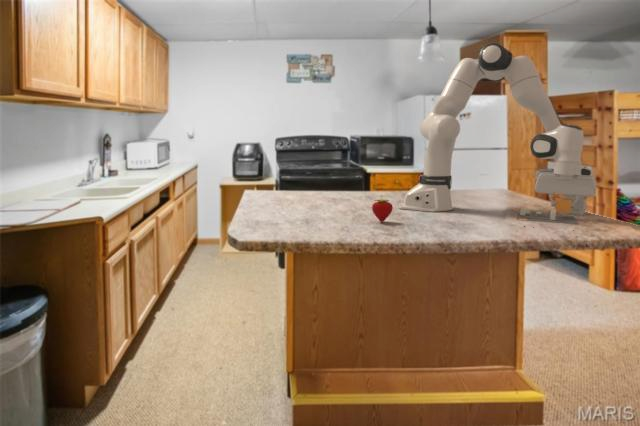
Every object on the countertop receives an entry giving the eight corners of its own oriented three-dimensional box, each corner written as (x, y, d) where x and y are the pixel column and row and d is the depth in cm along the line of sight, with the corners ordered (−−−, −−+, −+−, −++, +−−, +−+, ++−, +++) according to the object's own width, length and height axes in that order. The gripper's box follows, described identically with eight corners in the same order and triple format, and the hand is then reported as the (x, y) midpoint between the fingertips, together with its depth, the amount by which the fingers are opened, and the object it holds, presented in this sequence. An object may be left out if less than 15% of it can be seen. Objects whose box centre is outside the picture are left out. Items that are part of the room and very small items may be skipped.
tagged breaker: (550, 219, 178) (551, 210, 177) (550, 219, 179) (550, 209, 179) (555, 220, 177) (556, 210, 177) (554, 219, 179) (555, 210, 178)
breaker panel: (516, 222, 178) (517, 217, 178) (516, 215, 193) (517, 210, 193) (578, 227, 171) (579, 221, 171) (573, 219, 186) (573, 213, 185)
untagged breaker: (520, 215, 187) (521, 206, 186) (520, 214, 188) (520, 205, 188) (524, 215, 186) (525, 206, 186) (524, 214, 188) (525, 205, 187)
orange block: (555, 211, 180) (556, 199, 179) (554, 209, 185) (555, 197, 184) (570, 212, 178) (571, 200, 178) (569, 210, 183) (570, 198, 182)
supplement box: (582, 217, 189) (585, 185, 186) (561, 215, 193) (564, 183, 191) (585, 214, 194) (588, 183, 192) (565, 212, 199) (568, 181, 197)
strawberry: (393, 223, 176) (393, 196, 174) (371, 223, 176) (372, 195, 174) (391, 220, 182) (392, 193, 180) (371, 220, 182) (371, 193, 180)
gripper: (536, 168, 180) (532, 205, 182) (599, 171, 172) (594, 210, 175) (535, 167, 186) (532, 203, 188) (596, 170, 178) (592, 207, 181)
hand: (562, 206), depth 181 cm, fingers closed on orange block, 5 cm apart
